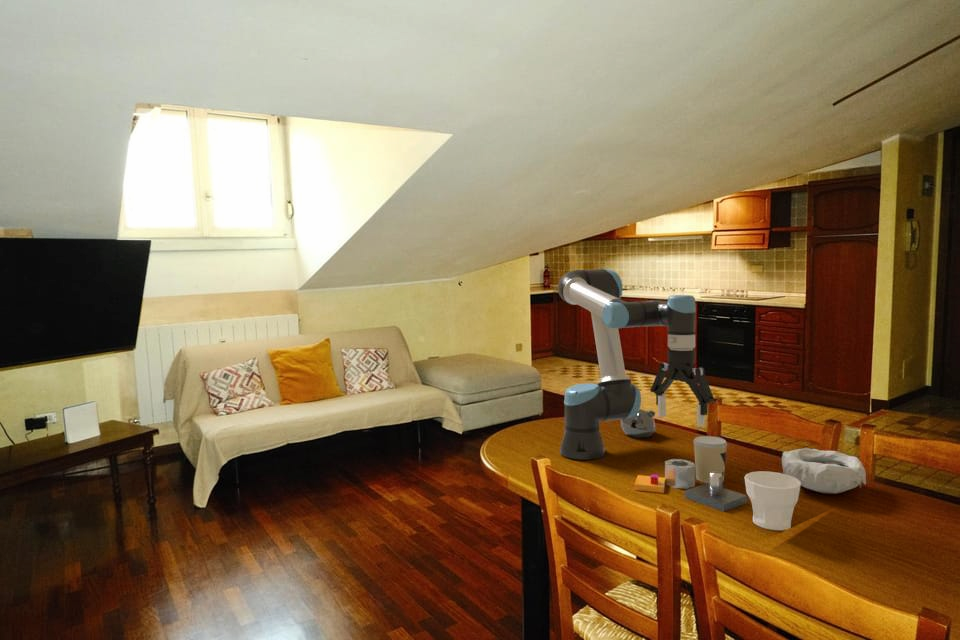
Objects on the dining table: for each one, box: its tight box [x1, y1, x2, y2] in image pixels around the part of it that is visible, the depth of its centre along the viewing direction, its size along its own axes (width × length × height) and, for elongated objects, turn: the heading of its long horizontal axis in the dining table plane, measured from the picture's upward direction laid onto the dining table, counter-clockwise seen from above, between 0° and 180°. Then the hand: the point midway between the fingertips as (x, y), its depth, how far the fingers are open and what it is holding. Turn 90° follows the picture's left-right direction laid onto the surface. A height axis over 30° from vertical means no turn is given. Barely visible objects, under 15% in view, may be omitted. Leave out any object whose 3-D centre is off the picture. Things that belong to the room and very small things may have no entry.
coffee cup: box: [692, 435, 728, 484], centre depth 178 cm, size 9×9×12 cm
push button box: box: [634, 474, 667, 494], centre depth 173 cm, size 8×8×4 cm
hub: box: [664, 458, 696, 490], centre depth 175 cm, size 8×8×6 cm
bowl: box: [781, 447, 867, 495], centre depth 167 cm, size 21×20×10 cm
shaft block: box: [684, 472, 748, 513], centre depth 162 cm, size 12×10×8 cm
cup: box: [743, 470, 802, 531], centre depth 146 cm, size 12×12×11 cm
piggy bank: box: [620, 408, 656, 439], centre depth 221 cm, size 11×15×12 cm
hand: (680, 421), depth 174 cm, fingers open, 13 cm apart
